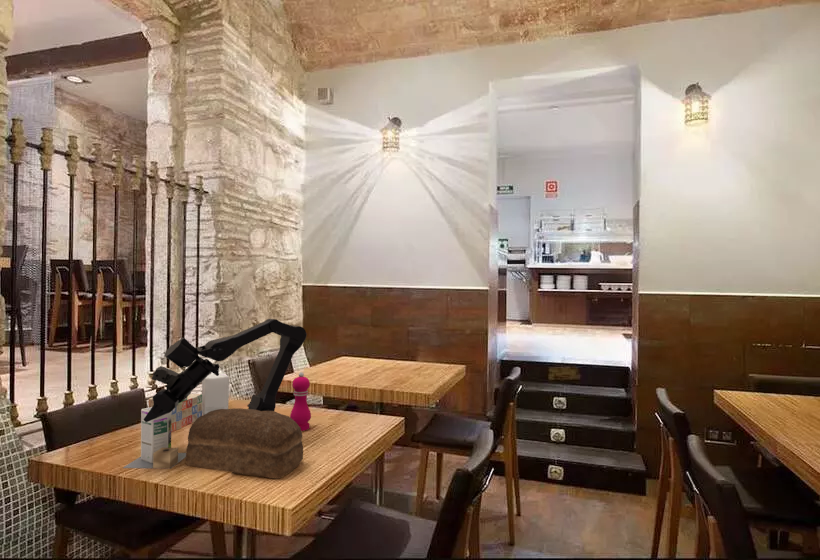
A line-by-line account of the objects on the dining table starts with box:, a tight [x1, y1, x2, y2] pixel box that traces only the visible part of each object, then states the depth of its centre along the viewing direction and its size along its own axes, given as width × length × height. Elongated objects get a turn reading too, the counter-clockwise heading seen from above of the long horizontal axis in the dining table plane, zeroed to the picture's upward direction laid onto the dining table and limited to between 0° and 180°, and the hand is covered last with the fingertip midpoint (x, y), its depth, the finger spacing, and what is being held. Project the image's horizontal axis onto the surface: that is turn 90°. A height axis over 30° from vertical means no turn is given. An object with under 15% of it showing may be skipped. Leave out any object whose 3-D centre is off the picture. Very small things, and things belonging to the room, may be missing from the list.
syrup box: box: [140, 407, 172, 463], centre depth 135 cm, size 6×6×14 cm
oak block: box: [152, 447, 179, 469], centre depth 130 cm, size 4×4×4 cm
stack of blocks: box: [148, 393, 203, 433], centre depth 169 cm, size 21×6×12 cm, turn 170°
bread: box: [185, 407, 304, 479], centre depth 133 cm, size 15×32×16 cm, turn 75°
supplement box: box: [201, 373, 230, 415], centre depth 186 cm, size 9×9×15 cm
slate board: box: [122, 452, 186, 470], centre depth 134 cm, size 13×12×1 cm
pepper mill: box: [289, 371, 312, 432], centre depth 167 cm, size 7×7×20 cm
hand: (150, 416), depth 134 cm, fingers open, 9 cm apart
